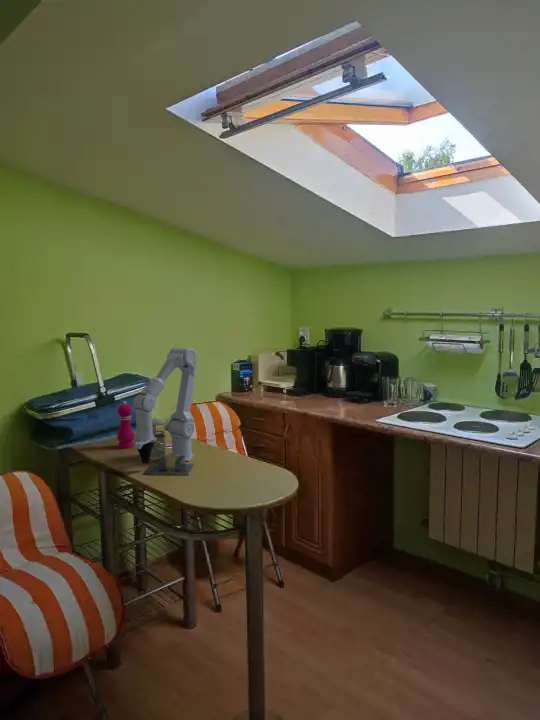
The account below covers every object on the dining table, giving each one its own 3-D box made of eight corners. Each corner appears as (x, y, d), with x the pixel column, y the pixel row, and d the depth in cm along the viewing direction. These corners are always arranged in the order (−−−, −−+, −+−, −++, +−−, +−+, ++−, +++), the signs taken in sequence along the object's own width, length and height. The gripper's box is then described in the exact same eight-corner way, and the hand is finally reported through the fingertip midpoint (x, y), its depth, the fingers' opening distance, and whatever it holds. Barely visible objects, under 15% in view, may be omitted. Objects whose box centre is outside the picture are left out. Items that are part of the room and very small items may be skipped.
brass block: (168, 466, 199) (167, 453, 198) (178, 466, 199) (178, 453, 198) (165, 469, 195) (165, 456, 194) (176, 469, 195) (175, 456, 194)
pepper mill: (116, 445, 231) (114, 400, 229) (133, 443, 234) (131, 399, 232) (118, 449, 225) (117, 403, 223) (136, 447, 228) (134, 401, 226)
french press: (170, 457, 213) (169, 396, 210) (141, 461, 209) (139, 398, 206) (166, 451, 222) (164, 392, 220) (137, 454, 218) (135, 394, 215)
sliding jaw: (167, 460, 205) (166, 451, 205) (172, 460, 205) (172, 452, 205) (158, 470, 194) (158, 461, 193) (164, 470, 194) (164, 461, 193)
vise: (152, 465, 203) (151, 454, 202) (193, 466, 202) (193, 454, 201) (144, 474, 193) (143, 462, 192) (187, 475, 192) (187, 462, 191)
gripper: (148, 432, 188) (149, 469, 190) (161, 422, 202) (162, 457, 204) (128, 431, 189) (130, 468, 191) (143, 422, 203) (144, 456, 205)
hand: (145, 462), depth 197 cm, fingers closed
